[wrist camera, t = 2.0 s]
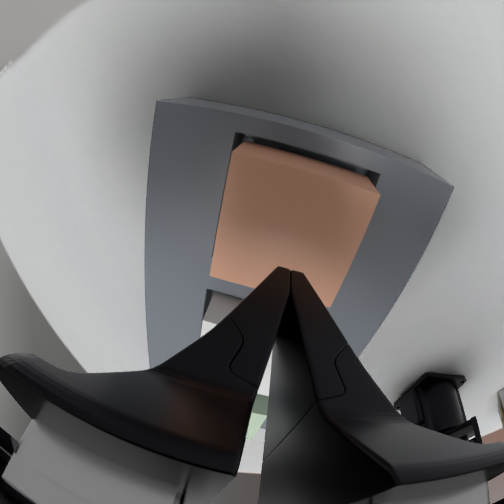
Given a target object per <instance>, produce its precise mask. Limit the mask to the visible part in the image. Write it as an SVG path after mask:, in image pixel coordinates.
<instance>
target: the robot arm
mask: <svg viewBox="0 0 504 504" xmlns="http://www.w3.org/2000/svg"><path fill="white" fill-rule="evenodd" d="M271 352H272V363H271V375H270V388H269V399H268V411H267V422H266V432H265V442H264V452H263V462H262V471H261V480H260V489H259V499H258V504H490V498H489V488H488V481H489V480H491V479H493V478H495V477H496V476H498V475H500V474H501V473H503V472H504V443H503V442H495V443H491V444H482V439H481V435H480V431H479V427H478V423H477V419H476V416H474V417H472V418H471V419H470V420H468V421H467V420H466V416H465V412H464V409H463V405H462V401H461V398H460V394H459V391H458V389H459V388H460V387H461V386H462V385H463V384H464V383H465V382H466V378H465V377H464V376H452V375H441V374H431V373H427V374H425V375H423V376H422V377H421V379H420V380H419V381H418V382H417V383H416V384H415V385H414V386H413V387H412V388H411V389H410V390H409V391H408V392H407V393H406V394H405V395H403V396H402V397H401V398H400V399H399V400H398V401H397V402H396V403H395V404H394V407H393V405H392V404H391V403H390V401H389V400H388V399H387V397H386V396H385V395H384V393H383V392H382V391H381V389H380V388H379V387H378V385H377V384H376V383H375V382H374V380H373V379H372V378H371V376H370V375H369V373H368V372H367V371H366V369H365V368H364V367H363V365H362V364H361V362H360V360H359V359H358V357H357V356H356V354H355V353H354V351H353V350H352V348H351V346H350V345H349V344H348V342H347V340H346V339H345V337H344V335H343V334H342V332H341V331H340V329H339V327H338V326H337V324H336V323H335V321H334V319H333V318H332V316H331V315H330V313H329V312H328V310H327V308H326V307H325V305H324V304H323V302H322V301H321V299H320V298H319V296H318V294H317V293H316V291H315V290H314V288H313V287H312V285H311V284H310V282H309V281H308V279H307V277H306V276H305V274H304V273H302V272H299V271H295V270H291V271H290V269H288V268H284V267H280V266H278V267H276V268H275V269H274V270H273V271H272V272H271V273H270V274H269V275H268V276H267V277H266V278H265V279H264V280H263V281H262V282H261V283H260V284H259V285H258V286H257V287H256V288H255V289H254V290H253V291H252V292H251V293H250V294H249V295H248V296H247V297H246V298H245V299H244V300H243V301H242V302H240V303H239V304H238V305H237V306H236V307H235V308H234V309H233V310H232V311H231V312H230V313H229V314H228V315H227V316H226V317H225V318H224V319H223V320H221V321H220V322H219V323H218V324H217V325H216V326H215V327H214V328H212V329H211V330H210V331H209V332H207V333H206V334H205V335H203V336H202V337H201V338H199V339H198V340H196V341H195V342H193V343H192V344H190V345H189V346H187V347H186V348H184V349H183V350H181V351H180V352H178V353H177V354H175V355H174V356H172V357H171V358H169V359H168V360H166V361H164V362H163V363H161V364H159V365H157V366H155V367H153V368H150V369H147V370H143V371H130V372H110V373H77V372H71V371H67V370H64V369H60V368H58V367H56V366H54V365H52V364H50V363H48V362H47V361H45V360H43V359H42V358H40V357H38V356H36V355H34V354H31V353H15V354H9V355H6V356H3V357H1V358H0V381H1V382H2V384H3V385H4V386H5V388H6V389H7V390H8V391H9V393H10V394H11V395H12V397H13V398H14V399H15V400H16V401H17V403H18V404H19V405H20V406H21V407H22V408H23V410H24V411H25V412H26V413H27V414H28V415H29V416H30V418H31V419H32V421H31V423H30V424H29V426H28V427H27V430H26V431H25V433H24V435H23V436H22V438H21V440H20V442H19V443H18V441H16V440H15V439H14V438H13V437H12V436H10V435H9V434H8V433H7V432H6V431H4V430H3V429H2V428H1V427H0V504H210V503H211V502H212V501H213V500H214V499H215V498H216V497H217V496H218V495H219V493H221V492H222V491H223V489H224V488H225V487H226V486H227V485H228V484H229V483H230V482H231V481H232V480H233V479H234V478H235V477H236V475H237V472H238V468H239V465H240V461H241V456H242V452H243V448H244V444H245V439H246V435H247V430H248V426H249V421H250V417H251V412H252V408H253V405H254V402H255V399H256V396H257V393H258V389H259V387H260V384H261V381H262V378H263V375H264V372H265V369H266V367H267V364H268V361H269V358H270V355H271ZM397 410H401V415H400V414H399V413H398V412H397ZM474 435H475V438H473V439H471V440H469V439H468V438H470V437H472V436H474ZM493 504H504V498H503V499H501V500H499V501H497V502H495V503H493Z"/></svg>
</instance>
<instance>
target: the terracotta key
mask: <svg viewBox="0 0 504 504" xmlns="http://www.w3.org/2000/svg"><path fill="white" fill-rule="evenodd" d="M379 198H380V193H379V192H378V191H377V189H376V188H375V186H374V185H373V184H372V182H371V181H370V180H369V178H368V177H367V176H365V175H362V174H359V173H356V172H353V171H350V170H347V169H344V168H341V167H338V166H335V165H332V164H329V163H325V162H322V161H319V160H316V159H312V158H309V157H305V156H302V155H298V154H295V153H291V152H287V151H284V150H280V149H276V148H272V147H268V146H264V145H260V144H256V143H252V142H247V141H244V142H243V143H242V144H240V145H239V146H238V147H237V148H236V149H235V150H234V151H232V154H231V159H230V164H229V169H228V174H227V180H226V185H225V190H224V195H223V201H222V206H221V211H220V217H219V223H218V228H217V234H216V240H215V245H214V251H213V257H212V263H211V269H210V276H211V277H215V278H218V279H222V280H226V281H229V282H233V283H236V284H240V285H244V286H247V287H251V288H256V287H257V286H258V285H259V284H260V283H261V282H262V281H263V280H264V279H265V278H266V277H267V276H268V275H269V274H270V273H271V272H272V271H273V270H274V269H275V268H276V267H278V266H280V267H284V268H288V269H290V271H291V270H295V271H299V272H302V273H304V274H305V276H306V277H307V279H308V281H309V282H310V284H311V285H312V287H313V288H314V290H315V291H316V293H317V294H318V296H319V298H320V299H321V301H322V302H323V304H324V305H325V307H329V308H330V307H331V305H332V303H333V301H334V299H335V297H336V295H337V293H338V291H339V289H340V287H341V285H342V282H343V280H344V278H345V276H346V274H347V272H348V270H349V268H350V266H351V263H352V261H353V259H354V257H355V255H356V252H357V250H358V248H359V246H360V243H361V241H362V239H363V237H364V234H365V232H366V230H367V227H368V225H369V222H370V220H371V218H372V215H373V213H374V210H375V208H376V205H377V203H378V200H379Z"/></svg>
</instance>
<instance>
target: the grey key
mask: <svg viewBox="0 0 504 504" xmlns="http://www.w3.org/2000/svg"><path fill="white" fill-rule="evenodd" d="M243 300H244V299H243V298H239V297H235V296H232V295H228V294H225V293H221V292H217V291H215V292H214V294H213V296H212V299H211V301H210V304H209V306H208V308H207V311H206V313H205V316H204V318H203V322H202V329H201V336H200V338H201V337H202V336H203V335H205V334H206V333H207V332H209V331H210V330H211V329H212V328H214V327H215V326H216V325H217V324H218V323H219V322H220V321H221V320H223V319H224V318H225V317H226V316H227V315H228V314H229V313H230V312H231V311H232V310H233V309H234V308H235V307H236V306H237V305H238V304H239V303H240V302H242V301H243ZM271 363H272V352H271V355H270V358H269V361H268V364H267V367H266V369H265V372H264V375H263V378H262V381H261V384H260V387H259V389H258V393H257V394H261V395H265V396H269V388H270V375H271Z"/></svg>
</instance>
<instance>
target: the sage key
mask: <svg viewBox="0 0 504 504" xmlns="http://www.w3.org/2000/svg"><path fill="white" fill-rule="evenodd" d="M268 399H269V396H265V395H261V394H257V396H256V399H255V402H254V405H253V408H252V412H251V417H250V421H249V426H248V430H247V435H246V439H250V440H252V438H253V437H254V435H255V434H256V433H257V431H258V430H259V428H260V427H261V425H262V424H263V422H264V421H265V419H266V417H267V411H268Z"/></svg>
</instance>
